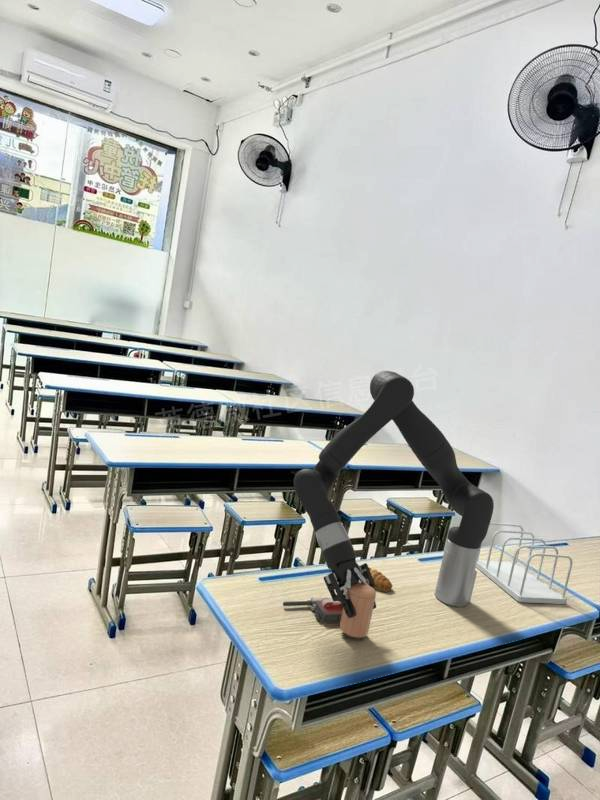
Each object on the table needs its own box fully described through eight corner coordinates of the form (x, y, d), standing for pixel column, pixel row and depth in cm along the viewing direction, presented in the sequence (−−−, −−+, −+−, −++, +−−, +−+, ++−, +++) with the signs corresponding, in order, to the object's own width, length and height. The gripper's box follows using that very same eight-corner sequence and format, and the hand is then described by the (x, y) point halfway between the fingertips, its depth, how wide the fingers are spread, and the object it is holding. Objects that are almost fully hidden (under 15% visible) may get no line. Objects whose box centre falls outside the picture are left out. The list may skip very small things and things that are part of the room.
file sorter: (566, 605, 165) (578, 557, 163) (518, 603, 160) (530, 554, 158) (514, 566, 189) (524, 524, 187) (471, 564, 184) (481, 520, 182)
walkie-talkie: (351, 604, 143) (280, 606, 135) (354, 588, 142) (283, 590, 135) (367, 623, 135) (292, 626, 127) (370, 606, 134) (295, 609, 127)
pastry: (395, 589, 156) (398, 576, 155) (384, 596, 151) (386, 583, 150) (368, 575, 162) (370, 563, 161) (356, 581, 156) (358, 569, 156)
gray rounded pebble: (355, 629, 130) (357, 615, 130) (363, 638, 127) (366, 624, 127) (341, 631, 129) (344, 617, 128) (350, 640, 125) (353, 626, 125)
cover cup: (357, 619, 132) (365, 581, 131) (373, 635, 126) (381, 595, 125) (334, 622, 129) (342, 583, 128) (349, 638, 123) (357, 597, 122)
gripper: (325, 543, 125) (354, 616, 119) (364, 534, 135) (392, 600, 129) (305, 555, 130) (332, 626, 123) (344, 546, 140) (371, 610, 133)
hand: (363, 612), depth 126 cm, fingers closed on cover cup, 6 cm apart
